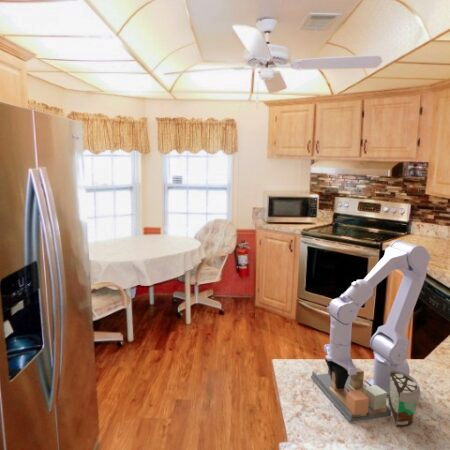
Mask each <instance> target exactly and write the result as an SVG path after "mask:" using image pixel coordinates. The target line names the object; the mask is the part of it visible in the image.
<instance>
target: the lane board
mask: <svg viewBox="0 0 450 450" xmlns="http://www.w3.org/2000/svg"><path fill="white" fill-rule="evenodd" d="M311 372H312V373H311V374H312V375H310V379H312V380H313V382H314V383H315V384H316V385H317V387H318V388H319V389H320V390H321V391H322V392H323V394H324V395H325V396H326V398H327V399H328V400H329V401H330V402H331V403H332V404H333V406H335V408H336V409H337V411H338V412H339V413H340V414H341V415H342V416H343V417H344V419H345V420H346V421H347V422H348V423H355V422H360V421H367V420H373V419H380V418H387V417H390V416H392V414H391V409H390V408H389V405H388V404H386V408H387V412H385V413H378V414H373V411H372V410H371V409H370V408H369V407H368V413H367V414H366V416H359V417H353V415H352V414H351V413H350V412H349V410H348V409H347V408H346V407H345V406H344V405H343V404H342V402H341V401H340V400H339V399H338V398H337V397H336V396H335V395H334V393H333V392H332V391H331V390H330V389H329V387H331V382H332V381H331V376H330V372H329V369H328V370H327V373H323V374H321V373H320V374H317V373H316V372H315V371H311ZM348 385H350V375H349V377H348V379H347V381H346V384H345V387H344V388H345V389H346V390H347V391H348V392H349V391H352V390H351V389H350V388H349V387H348ZM363 386H364V387H365V388H366V387H368V386H367V385H366V384H365V383H364V382H363Z"/></svg>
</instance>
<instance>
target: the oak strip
mask: <svg viewBox="0 0 450 450" xmlns="http://www.w3.org/2000/svg"><path fill="white" fill-rule="evenodd" d="M329 389H330V390H331V391H332V392H333V393H334V395H335V396H336V397H337V398H338V399H339V400H340V401H341V402H342V404H343V405H344V406H345V407H346V408H347V406H346V395H347V392H348V391H347V390H346V389H345V388H343V389H337V388H336V380H335V373H334V371H332V382H331V387H329ZM347 409H348V408H347ZM348 410H349V409H348ZM349 412H350V413H351V414H352V415H353V417H359V416H366V414H367V413H364V414H358V415H354V414H353V413H352V412H351V411H350V410H349Z"/></svg>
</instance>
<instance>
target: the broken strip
mask: <svg viewBox="0 0 450 450" xmlns="http://www.w3.org/2000/svg"><path fill="white" fill-rule="evenodd" d="M356 368H357V372H356V375H350V385H348V387H349V388H350V389H351V390H352V391H357V390H361V391H362V392H363V393H364V388H365V387H364V386H363V383H364V377H365V376H364V374H365V371H364V370H363V368H361V367H356ZM368 407H369V408H370V409H371V410H372V411H373V414H378V413H385V412H387V408H386V407H382V408H379V409H376V410H374V409H372V408H371V407H370V406H369V405H368Z"/></svg>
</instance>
